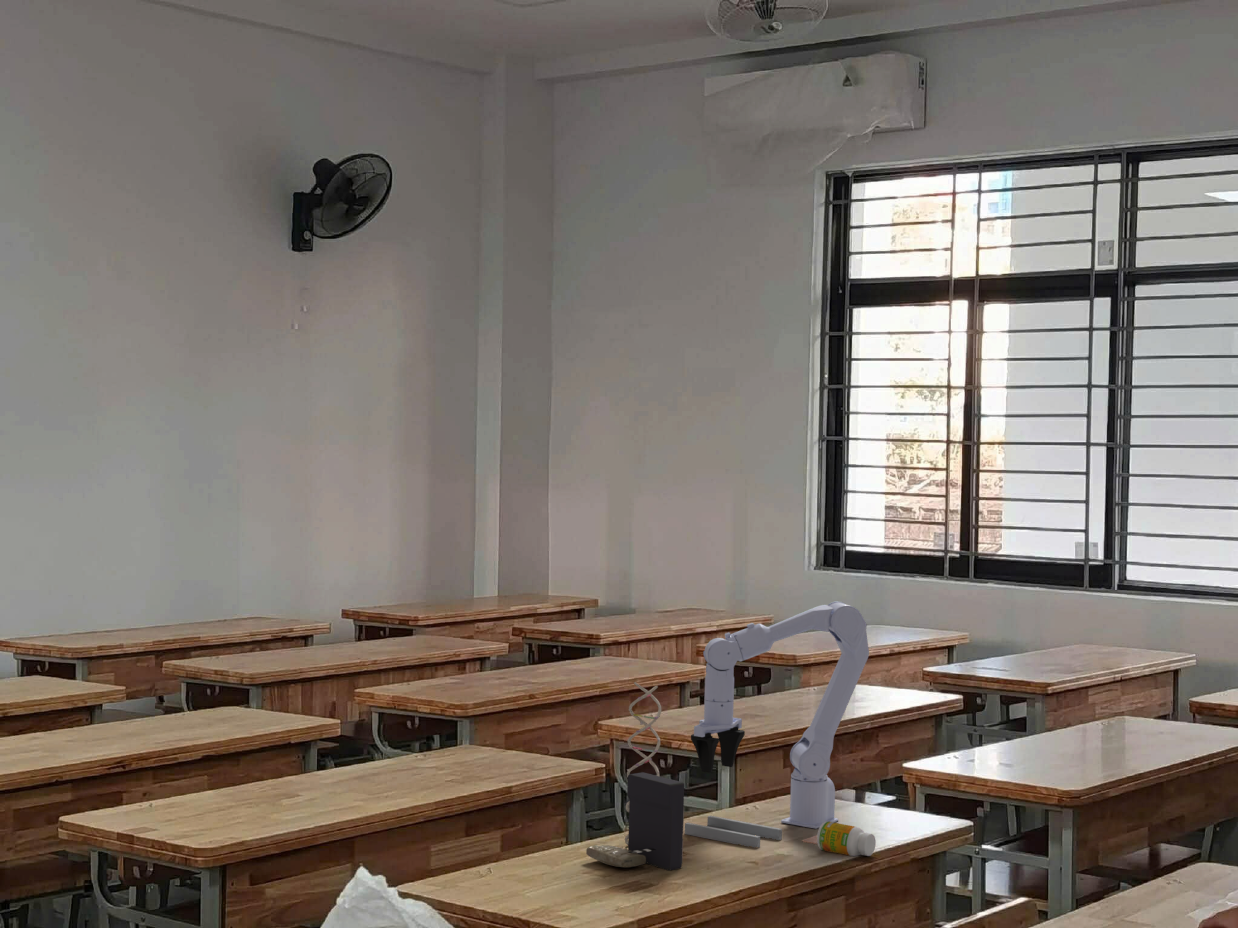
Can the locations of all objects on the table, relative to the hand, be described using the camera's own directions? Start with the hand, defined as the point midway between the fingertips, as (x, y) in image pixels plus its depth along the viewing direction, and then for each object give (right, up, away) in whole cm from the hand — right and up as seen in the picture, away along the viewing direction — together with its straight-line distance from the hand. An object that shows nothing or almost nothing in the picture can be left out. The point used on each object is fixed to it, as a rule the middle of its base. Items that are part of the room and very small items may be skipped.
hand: (717, 768), depth 306 cm
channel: (+2, -11, -12) cm, 16 cm away
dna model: (-15, -10, -22) cm, 29 cm away
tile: (+22, -11, -14) cm, 28 cm away
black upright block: (-13, -10, -33) cm, 37 cm away
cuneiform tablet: (-15, -8, -40) cm, 43 cm away
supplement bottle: (+18, -8, -20) cm, 28 cm away
